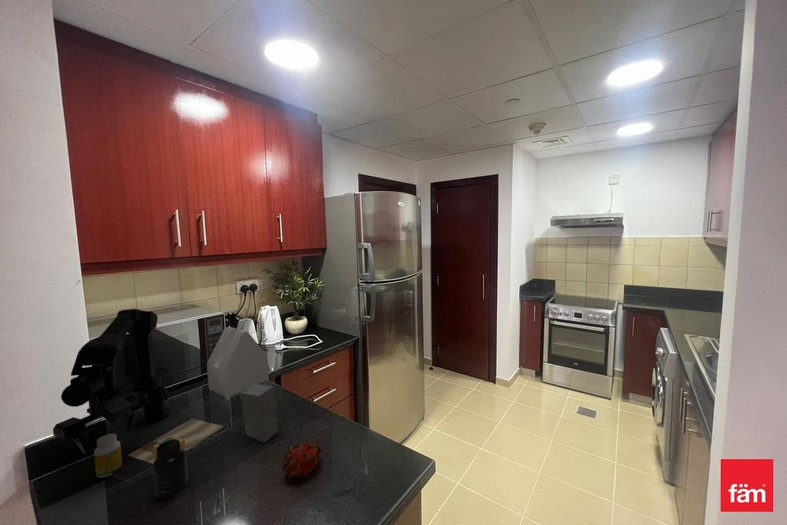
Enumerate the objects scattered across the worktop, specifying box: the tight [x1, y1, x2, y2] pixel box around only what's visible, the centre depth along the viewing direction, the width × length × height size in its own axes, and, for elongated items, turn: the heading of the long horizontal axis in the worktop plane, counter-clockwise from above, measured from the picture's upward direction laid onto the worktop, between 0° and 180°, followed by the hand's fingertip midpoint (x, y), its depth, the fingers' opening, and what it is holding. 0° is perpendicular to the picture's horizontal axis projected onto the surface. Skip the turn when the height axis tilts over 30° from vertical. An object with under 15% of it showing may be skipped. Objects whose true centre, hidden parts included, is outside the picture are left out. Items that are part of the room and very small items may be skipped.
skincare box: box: [239, 384, 280, 444], centre depth 100 cm, size 8×7×16 cm
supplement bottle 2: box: [152, 439, 189, 501], centre depth 79 cm, size 7×7×12 cm
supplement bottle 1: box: [93, 433, 123, 479], centre depth 86 cm, size 5×5×10 cm
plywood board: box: [127, 418, 224, 465], centre depth 98 cm, size 21×20×1 cm
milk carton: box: [206, 326, 270, 399], centre depth 139 cm, size 19×15×25 cm
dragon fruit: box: [281, 441, 322, 479], centre depth 84 cm, size 8×8×12 cm
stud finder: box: [153, 436, 185, 457], centre depth 92 cm, size 6×5×4 cm
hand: (107, 442), depth 86 cm, fingers open, 9 cm apart
